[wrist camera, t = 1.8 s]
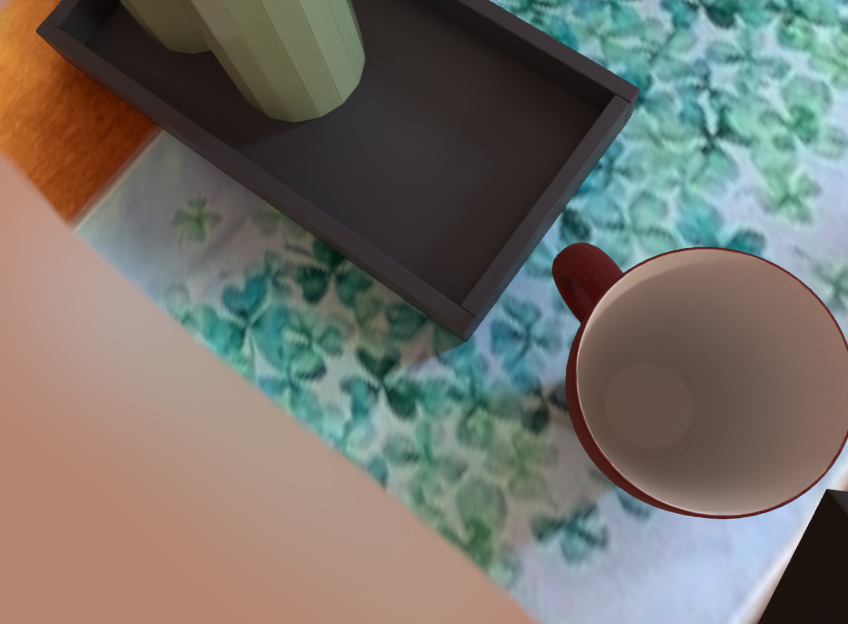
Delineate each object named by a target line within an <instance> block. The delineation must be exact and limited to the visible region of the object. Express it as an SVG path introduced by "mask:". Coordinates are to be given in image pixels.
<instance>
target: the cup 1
mask: <svg viewBox="0 0 848 624" xmlns="http://www.w3.org/2000/svg"><path fill="white" fill-rule="evenodd" d="M120 1H121V3H122V4H123V5H124V6H125V7H126V9H127V10H128V11H129V12H130V14H131V15H132V16H133V17H134V19H135V20H136V21H137V22H138V23H139V25H140V26H141V27H142V28H143V30H144V31H145V32H146V33H147V34H148V36H149V37H150V38H151V39H153V40H154V41H156V42H157V43H159V44H160V45H162V46H163V47H165V48H166V49H168V50H172V51H177V52H183V53H188V54H195V53H200V52H206V51H211V49H210V47H209V46H208V45H207V43H206V42H205V40H204V39H203V37H202V36H201V34H200V33H199V32H198V30H197V29H196V27H195V26H194V24H193V23H192V22H191V20H190V19H189V17H188V16H187V14H186V13H185V11H184V10H183V9H182V7H181V6H180V4H179V3H178V1H177V0H120Z"/></svg>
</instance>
